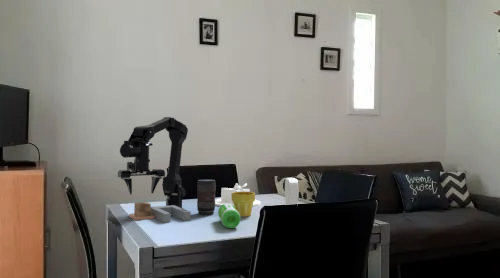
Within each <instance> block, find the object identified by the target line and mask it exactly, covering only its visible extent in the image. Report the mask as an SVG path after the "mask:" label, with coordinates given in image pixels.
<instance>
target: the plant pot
mask: <svg viewBox="0 0 500 278" xmlns="http://www.w3.org/2000/svg"><path fill="white" fill-rule="evenodd" d="M255 200H256V193H255V192H253V191H250V192H233V193H232V201H233V204H234V207H235V209H236V210H237V211H238V212H239V214H240V217H241V218H242V217H249V216H252V211H253V208H254V207H253V202H254V201H255Z"/></svg>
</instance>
